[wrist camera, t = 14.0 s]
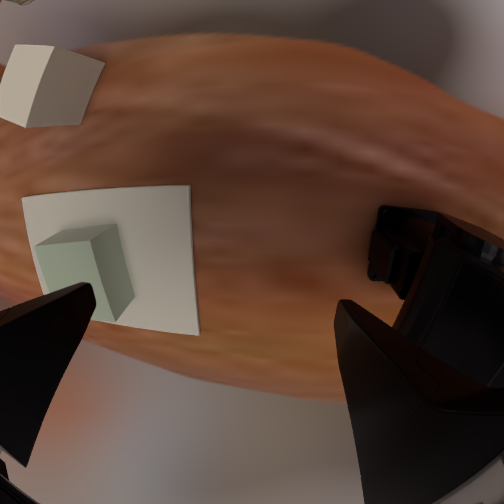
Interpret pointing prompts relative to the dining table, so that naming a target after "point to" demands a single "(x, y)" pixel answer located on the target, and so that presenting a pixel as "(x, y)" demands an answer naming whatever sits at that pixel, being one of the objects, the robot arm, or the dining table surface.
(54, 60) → the light grey cube-like block
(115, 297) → the sticky note pad
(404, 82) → the dining table surface
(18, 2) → the coffee can
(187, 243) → the mat
